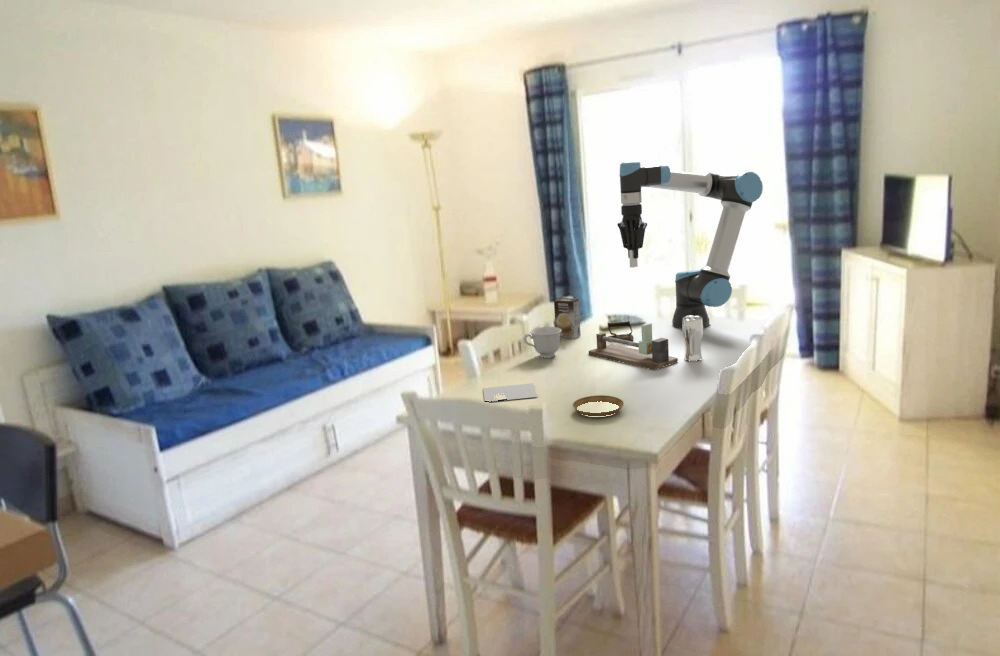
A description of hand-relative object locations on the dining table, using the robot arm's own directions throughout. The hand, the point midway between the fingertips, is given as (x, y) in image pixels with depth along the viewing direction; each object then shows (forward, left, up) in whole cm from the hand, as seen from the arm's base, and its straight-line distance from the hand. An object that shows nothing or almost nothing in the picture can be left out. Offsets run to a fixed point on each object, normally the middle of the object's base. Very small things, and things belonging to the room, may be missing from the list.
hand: (633, 266), depth 260 cm
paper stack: (+63, +6, -31) cm, 70 cm away
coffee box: (+8, -30, -31) cm, 44 cm away
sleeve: (+16, +20, -27) cm, 37 cm away
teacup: (+34, -16, -31) cm, 48 cm away
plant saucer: (+62, +41, -31) cm, 80 cm away
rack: (+16, +12, -30) cm, 36 cm away
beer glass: (+4, +30, -31) cm, 43 cm away
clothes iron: (0, -9, -31) cm, 32 cm away
